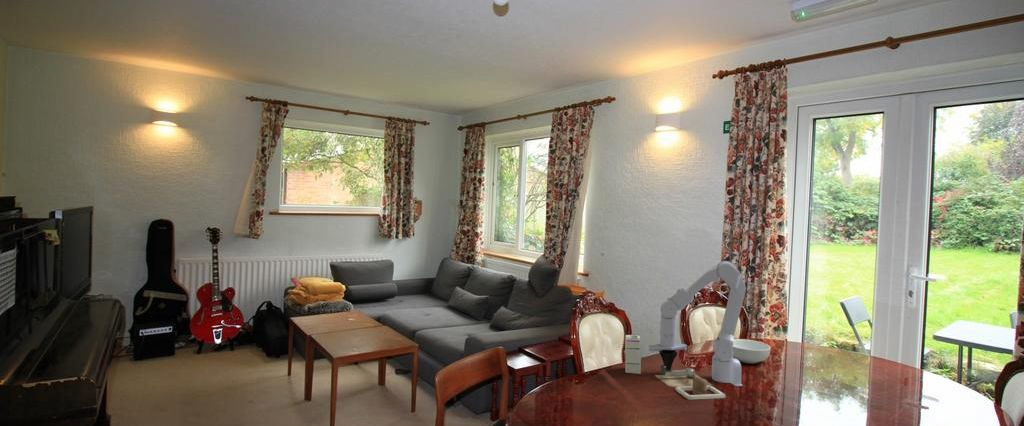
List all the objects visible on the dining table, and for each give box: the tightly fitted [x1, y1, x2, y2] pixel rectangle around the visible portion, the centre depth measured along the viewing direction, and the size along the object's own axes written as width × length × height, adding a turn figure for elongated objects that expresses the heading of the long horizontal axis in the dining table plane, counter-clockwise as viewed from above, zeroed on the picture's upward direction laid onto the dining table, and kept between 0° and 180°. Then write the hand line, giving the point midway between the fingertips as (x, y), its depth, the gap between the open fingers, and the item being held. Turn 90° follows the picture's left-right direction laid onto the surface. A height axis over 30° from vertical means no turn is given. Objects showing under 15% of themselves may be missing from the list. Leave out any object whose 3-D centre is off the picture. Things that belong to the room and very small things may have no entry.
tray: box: [674, 385, 727, 401], centre depth 166 cm, size 13×9×2 cm
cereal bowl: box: [733, 338, 771, 364], centre depth 210 cm, size 17×17×7 cm
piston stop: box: [692, 377, 708, 395], centre depth 166 cm, size 4×4×6 cm
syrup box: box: [624, 334, 642, 375], centre depth 189 cm, size 6×6×14 cm
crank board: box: [654, 373, 713, 388], centre depth 179 cm, size 16×12×2 cm
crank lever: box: [660, 364, 696, 378], centre depth 181 cm, size 13×3×4 cm, turn 99°
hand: (667, 369), depth 187 cm, fingers closed
